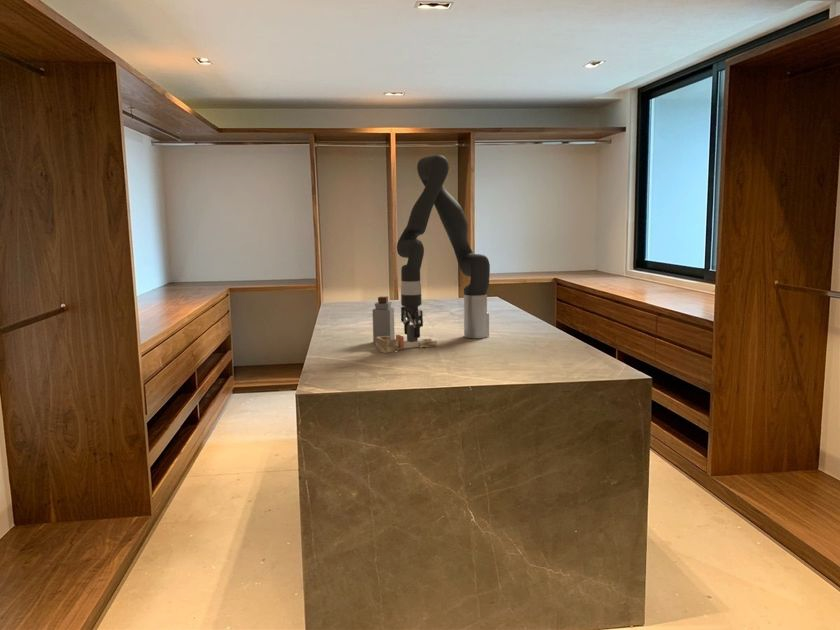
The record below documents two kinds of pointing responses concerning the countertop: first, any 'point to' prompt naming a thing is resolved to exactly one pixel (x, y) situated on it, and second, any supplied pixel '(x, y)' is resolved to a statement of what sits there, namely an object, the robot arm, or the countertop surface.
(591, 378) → the countertop surface
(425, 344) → the rail guide
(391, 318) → the perfume bottle
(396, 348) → the box
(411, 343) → the gray block
